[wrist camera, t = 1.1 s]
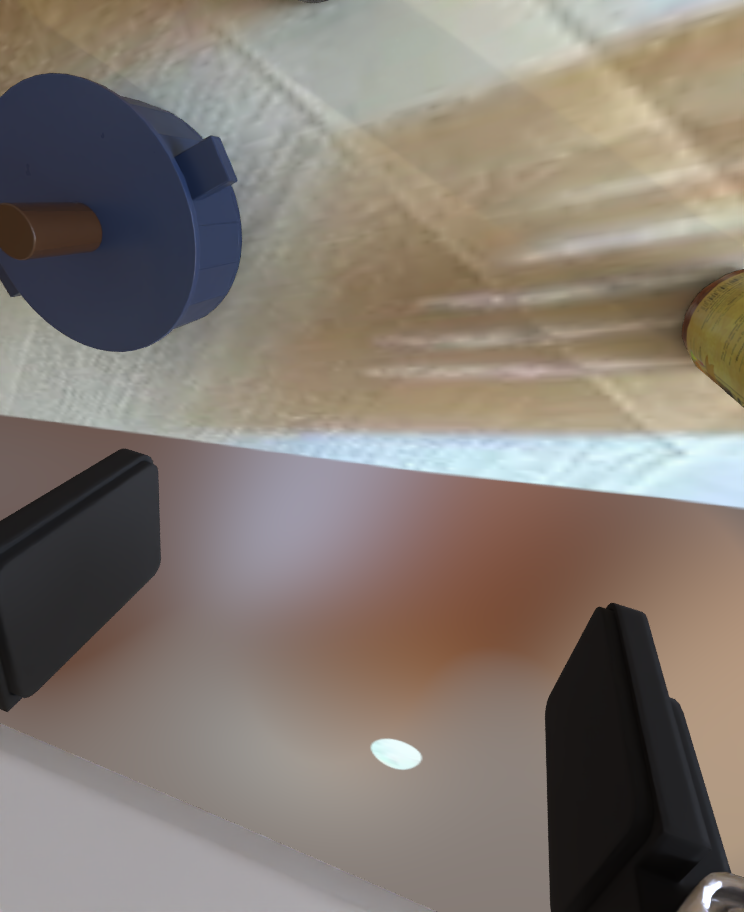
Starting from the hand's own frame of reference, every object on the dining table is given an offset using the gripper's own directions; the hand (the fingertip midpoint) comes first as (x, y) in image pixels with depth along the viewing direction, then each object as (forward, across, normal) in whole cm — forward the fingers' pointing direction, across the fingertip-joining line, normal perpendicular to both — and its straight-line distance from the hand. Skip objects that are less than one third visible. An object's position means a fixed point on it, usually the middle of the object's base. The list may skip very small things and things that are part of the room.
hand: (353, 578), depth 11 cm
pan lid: (+21, +24, -1) cm, 32 cm away
